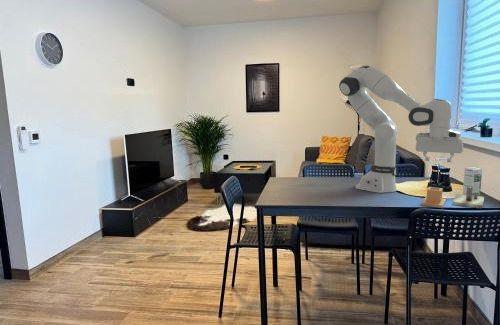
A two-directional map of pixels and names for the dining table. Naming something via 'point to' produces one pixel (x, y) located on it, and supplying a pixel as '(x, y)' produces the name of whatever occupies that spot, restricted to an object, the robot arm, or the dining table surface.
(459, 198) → the post base
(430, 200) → the flange plate
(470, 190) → the pins
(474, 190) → the syrup box
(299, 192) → the dining table surface
